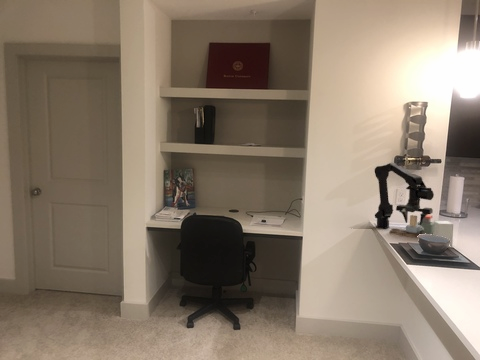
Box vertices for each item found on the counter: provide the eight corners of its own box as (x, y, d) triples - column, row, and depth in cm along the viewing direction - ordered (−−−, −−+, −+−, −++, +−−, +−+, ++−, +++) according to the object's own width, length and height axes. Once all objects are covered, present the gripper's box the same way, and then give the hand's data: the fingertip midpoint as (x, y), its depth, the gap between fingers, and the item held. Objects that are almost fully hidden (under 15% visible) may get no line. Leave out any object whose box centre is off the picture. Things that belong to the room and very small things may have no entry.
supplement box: (452, 247, 193) (453, 224, 191) (437, 247, 194) (438, 223, 193) (447, 243, 200) (448, 220, 198) (433, 243, 201) (434, 220, 200)
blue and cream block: (405, 231, 216) (406, 216, 215) (409, 228, 221) (410, 214, 220) (416, 232, 212) (417, 217, 211) (420, 230, 217) (421, 215, 216)
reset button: (420, 226, 223) (420, 216, 222) (423, 224, 226) (423, 214, 225) (429, 227, 219) (429, 217, 218) (432, 225, 223) (432, 215, 222)
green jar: (416, 232, 223) (417, 222, 222) (420, 230, 228) (421, 220, 228) (431, 234, 218) (431, 224, 217) (434, 232, 223) (435, 222, 222)
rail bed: (389, 233, 223) (389, 226, 223) (393, 230, 228) (394, 224, 228) (420, 238, 211) (421, 231, 210) (424, 235, 216) (425, 229, 215)
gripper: (392, 197, 215) (392, 224, 217) (427, 201, 202) (426, 229, 204) (400, 195, 223) (399, 220, 225) (433, 198, 210) (432, 225, 212)
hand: (413, 223), depth 216 cm, fingers open, 8 cm apart
